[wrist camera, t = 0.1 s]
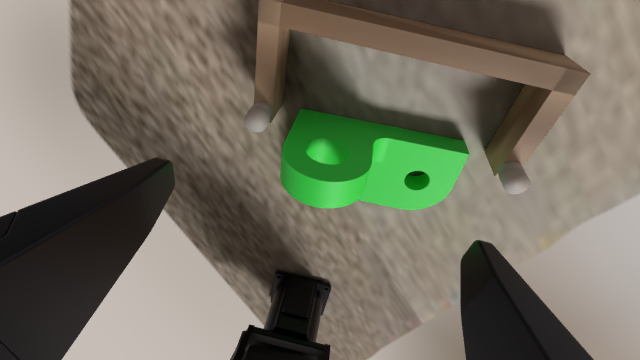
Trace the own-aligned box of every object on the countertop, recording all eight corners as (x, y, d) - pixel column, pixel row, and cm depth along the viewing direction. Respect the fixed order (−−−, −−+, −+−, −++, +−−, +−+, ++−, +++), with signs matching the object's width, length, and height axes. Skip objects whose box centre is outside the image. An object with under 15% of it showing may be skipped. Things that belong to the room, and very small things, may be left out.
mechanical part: (295, 170, 28) (267, 241, 21) (301, 107, 24) (270, 170, 18) (434, 200, 27) (448, 281, 21) (464, 139, 23) (491, 216, 17)
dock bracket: (502, 155, 23) (521, 196, 20) (265, 99, 24) (244, 129, 20) (567, 55, 19) (607, 85, 15) (273, -12, 19) (247, 2, 16)
